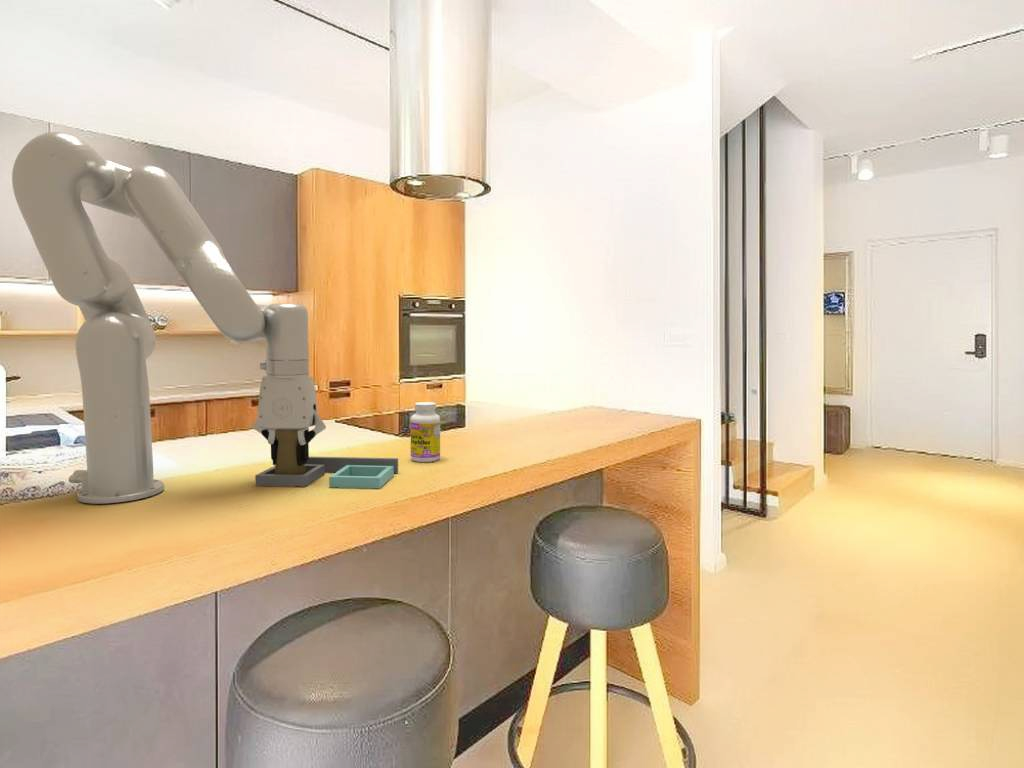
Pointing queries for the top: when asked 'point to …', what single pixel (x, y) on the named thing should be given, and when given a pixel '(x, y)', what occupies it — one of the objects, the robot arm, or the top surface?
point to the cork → (288, 453)
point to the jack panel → (347, 472)
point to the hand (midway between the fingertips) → (290, 462)
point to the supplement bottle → (425, 433)
